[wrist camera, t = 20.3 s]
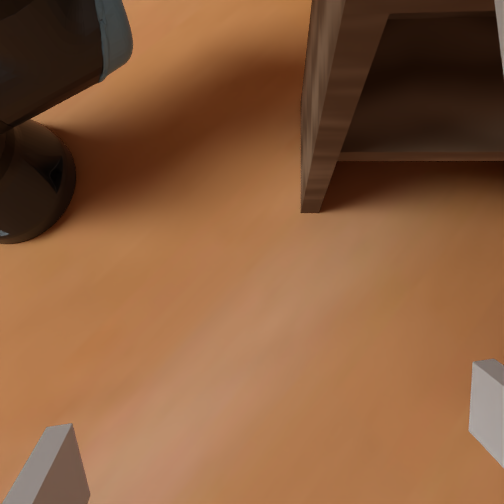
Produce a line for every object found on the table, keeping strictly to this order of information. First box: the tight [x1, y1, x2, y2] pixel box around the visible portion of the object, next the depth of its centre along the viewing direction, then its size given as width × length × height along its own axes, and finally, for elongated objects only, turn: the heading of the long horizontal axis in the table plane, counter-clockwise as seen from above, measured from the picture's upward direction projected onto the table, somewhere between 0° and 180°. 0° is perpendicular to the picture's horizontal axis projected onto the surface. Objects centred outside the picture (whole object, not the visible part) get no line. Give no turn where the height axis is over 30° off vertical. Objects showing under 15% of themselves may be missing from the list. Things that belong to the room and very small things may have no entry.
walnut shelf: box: [301, 0, 504, 213], centre depth 30 cm, size 14×26×30 cm, turn 88°
